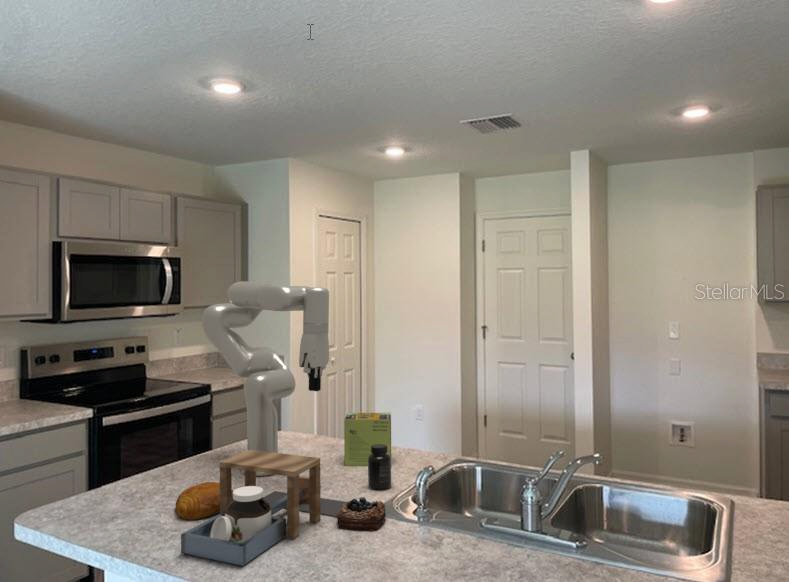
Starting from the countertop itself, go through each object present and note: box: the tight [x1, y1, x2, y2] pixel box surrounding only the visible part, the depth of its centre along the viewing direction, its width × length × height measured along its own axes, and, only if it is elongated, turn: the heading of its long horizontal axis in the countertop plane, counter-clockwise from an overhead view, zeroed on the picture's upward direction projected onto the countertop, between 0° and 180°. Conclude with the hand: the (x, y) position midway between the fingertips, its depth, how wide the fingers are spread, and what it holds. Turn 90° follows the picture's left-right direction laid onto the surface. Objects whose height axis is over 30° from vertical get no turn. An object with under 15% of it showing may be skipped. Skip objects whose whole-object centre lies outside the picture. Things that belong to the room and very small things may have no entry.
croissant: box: [175, 481, 234, 521], centre depth 157 cm, size 14×16×8 cm
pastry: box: [336, 496, 387, 533], centre depth 148 cm, size 11×12×6 cm
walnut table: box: [219, 450, 322, 540], centre depth 147 cm, size 21×12×16 cm, turn 67°
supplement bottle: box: [367, 444, 392, 491], centre depth 174 cm, size 7×7×12 cm
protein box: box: [343, 412, 392, 467], centre depth 200 cm, size 10×15×16 cm
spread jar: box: [210, 485, 271, 543], centre depth 136 cm, size 12×11×12 cm
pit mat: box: [263, 490, 347, 518], centre depth 160 cm, size 26×10×1 cm, turn 67°
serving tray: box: [180, 475, 309, 566], centre depth 144 cm, size 16×38×7 cm, turn 157°
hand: (314, 390), depth 177 cm, fingers closed
